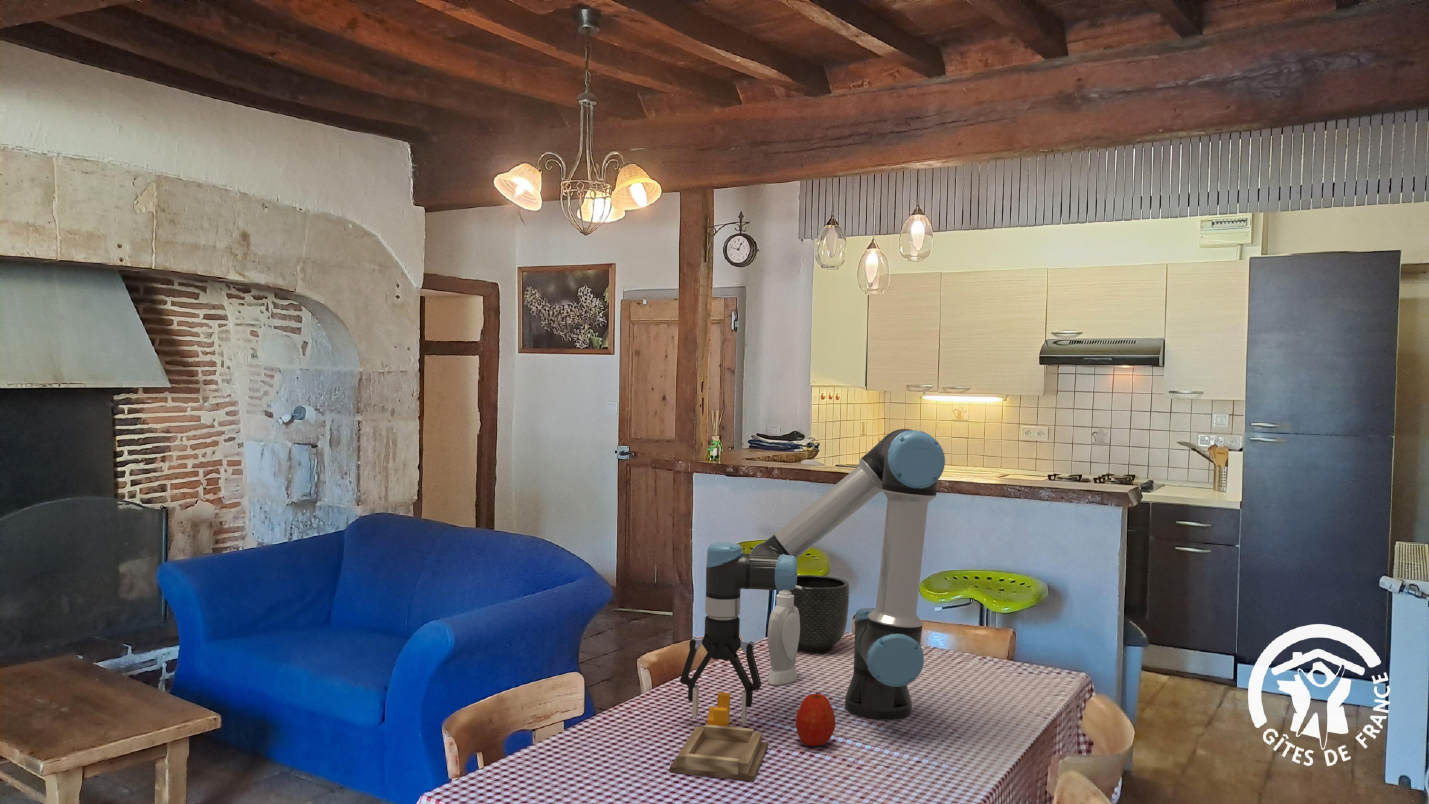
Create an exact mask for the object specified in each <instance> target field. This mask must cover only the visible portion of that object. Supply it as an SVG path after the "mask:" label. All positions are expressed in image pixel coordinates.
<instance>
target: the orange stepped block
mask: <svg viewBox="0 0 1429 804" xmlns="http://www.w3.org/2000/svg"><path fill="white" fill-rule="evenodd" d="M716 701H717V703H716V706H710V707H709V709H708V715H707V719H706V720H707V721H706V724H708V725H718V726H728V727H730V726H729V725H730V718H731V717H730V715H731V714H730V711H731V693H730V692H722V691H721V692H720V691H719V692H718V693H717V699H716Z"/></svg>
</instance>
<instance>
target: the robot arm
mask: <svg viewBox="0 0 1429 804" xmlns="http://www.w3.org/2000/svg"><path fill="white" fill-rule="evenodd" d="M945 457H946V456H945V452H944V449H943V448H942V446H941V444H940V443H939V442H938V440H936V438H935V437H934V436H932V435H930V434H929V433H927V432H925V431H922V430H918V429H915V430H913V429H910V428H901V429H900V428H899V429H896V430H893V431H891V432H890V433H888V434H886V435H885V436H884V437H883V438H882V439H881V440H880V441H879V442H878V443H876V445H874V446H873V447H872V448H871V449H870V450H869V451H868V452H867V453H866V454H864V455H863V456H862V457H861V458H859V463H858V466H856V467H855V468H854V469H853V470H852V471H850V472H849V473H848V474H847V475H846V476H844V477H843V478H842V479H841V480H839V481H838V482H837V483H836V484H835V485H833V486H832V487H830V489H829V490H826V492H824V493H823V494H822V495H821V496H819V498H817V499H816V500H815V501H813V502H812V503H811V504H810V505H808V506H807V507H806V508H805V509H803V510H802V511H801V512H800V513H799V514H798V515H796V516H795V517H794V518H792V519H791V520H790V521H789V522H787V523H786V524H785V525H784V526H783V527H781V528H780V529H779V530H778V531H777V532H775V533H774V534H773V535H772V536H771V537H769V538H768V539H767V540H765V541H764V542H761V543H758V544H756V546H754V547H753V548H752V550H751V552H750V553H744V552H743V549H742V546H741V544H739V543H734V542H733V543H731V542H715V543H712V544H710V545H709V546H708V548H707V552H706V553H707V554H706V565H705V567H706V568H705V601H704V602H705V603H704V604H705V605H704V613H705V617H704V636H703V638H698V637H695V636H694V637H693V636H692V638H691V639H690V640H689V651H688V655H687V658H686V659H685V663H684V667H683V670H682V673H681V676H680V679H679V683H681V684H682V685H683V684H684V685H686V687H687V690H688V691H687V693H688V694H687V701H688V702H689V703H690V702H691V703H692V705H691V706H692V708H691V710H692V711H691V713H692V714H691V719H697V717H698V716H699V702H700V701H699V699H700V698H699V697H700V685H699V684H696V683H697V681H698V680H699V678H700V677H701V675H702V673H703V672H704V671H705V669H706V668H707V666H708V665H709V664H708V663H710V661H711V660H713V661H715V660H722V661H729V663H730V665H732V667H733V669H734V670H735V673H736V675H737V676H738V678H739V680H740V682H741V684H742V686H743V688H744V689H743V691H742V693H741V724H746V723H747V720H748V708H750V707H751V706H753V705H752V704H753V697H754V696H753V695H754V693H753V692H754V691H759V690H760V688H761V687H762V680H761V676H760V673H759V670H758V665H757V662H756V657H755V654H754V648H755V647H754V646H755V643H754V642H753V641H749V642H747V641H742V640H741V637H740V630H741V629H740V628H741V624H740V623H741V619H740V617H739V615H741V590H764V591H766V590H767V591H782V590H793V589H794V588H795V587H796V584H797V575H798V560H797V559H799V557H801V556H802V555H803V554H805V553H806V552H807V551H808V550H809V549H811V548H812V547H813V546H814V545H815V544H817V543H818V542H819V541H820V540H822V539H823V538H824V537H825V536H827V535H828V534H829V533H830V532H832V531H833V530H835V528H837V527H838V526H840V524H842V523H843V522H844V521H845V520H846V519H848V518H849V517H851V515H853V514H854V513H855V512H856V511H858V510H859V509H860V508H862V507H863V506H864V505H866V504H867V503H868V502H869V501H871V500H872V499H873V498H874V497H875V496H877V495H878V494H879V493H881V492H882V493H883V494H884V495H885V497H886V498H887V501H886V509H885V510H886V511H885V520H884V521H885V522H884V529H883V540H882V549H881V550H882V551H881V559H880V567H879V576H878V587H877V594H876V595H877V596H876V597H877V598H876V603H875V604H876V606H875V608H874V607H867V608H866V607H865V608H864V607H863V608H859V609H857V611H856V612H855V616H854V617H855V618H854V620H853V623H854V647H853V648H854V651H853V674H852V678H851V680H850V683H849V684H848V685H849V686H848V688H847V690H846V693H845V697H844V707H845V710H847V712H849V713H851V714H853V715H855V716H858V717H861V718H865V719H870V720H880V721H881V720H883V721H887V720H888V721H889V720H890V721H892V720H894V721H895V720H900V719H904V718H906V717H910V716H911V714H912V713H913V712H912V711H913V702H912V699H911V695H910V691H909V688H908V685H909V684H911V683H912V682H914V681H915V680H916V679H917V678H918V677H919V675H920V674H921V673H922V670H923V669H924V664H925V663H924V662H925V657H924V650H923V648H922V646H921V642H922V633H923V621H922V620H921V619H920V617H919V615H918V614H917V611H918V601H919V592H920V582H921V574H922V573H921V572H922V563H923V554H924V545H925V534H926V525H927V516H928V508H929V507H928V506H929V503H931V502H932V500H934V499H935V498H937V492H938V481H939V479H940V478H941V476H942V474H943V472H944V470H945V465H946V458H945ZM701 646H703V648H704V649H705V651H706V652H707V653H706V654H705V655H704V657H703V659H702V661H701V662H700V664H699V665H698V667H697V669H696V670H695V672H694V674H693V675H692V676H691V677H690V672H691V669H692V667H693V664H694V661H695V657H696V655H697V652H698V649H700V647H701ZM740 648H741V649H742V652H743V653H744V654H745V657H746V661H747V664H748V665H747V666H748V669H749V674H750V677H751V679H752V680H751V679H750V677H749V675H748V674H747V672H746V670H745V667H744V666H743V664H742V662H741V660H740V657H739V655H738V653H737V652H738V651H739V650H740ZM751 681H752V682H751Z"/></svg>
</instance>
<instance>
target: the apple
mask: <svg viewBox="0 0 1429 804" xmlns="http://www.w3.org/2000/svg"><path fill="white" fill-rule="evenodd" d="M835 728H836V716H835V712H834V709H833V707H832V704H831V703H830V701H829V700H828V698H827V697H826V695H824V694H820V693H818V692H817V691H816V692H815V693H810V694H807V696H805V697H804V699H803V700H802V702H801V704H800V706H799V708H798V710H797V712H796V717H795V729H796V733H797V736H798V738H799V740H800V742H801V743H802V744H803V745H805V746H808V747H816V746H822V745H825V744H827V743H829V740H830V739H831V738H832V735H833V734H834V732H835Z"/></svg>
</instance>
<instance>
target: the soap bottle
mask: <svg viewBox="0 0 1429 804" xmlns="http://www.w3.org/2000/svg"><path fill="white" fill-rule="evenodd" d="M795 588H798V589H803V587H800V586H797V585H796V587H795ZM775 597H776V599H775V600H776V601H775V603H776V604H775V606H774V608H773V609H772V610H771V612H770V614H769V619H768V628H767V648H768V653H769V654H768V655H769V659H770V660H769V661H770V667H771V668H770V670H769V674H768V679H767V683H768V685H771V686H782V685H783V686H784V685H789V684H791V683H793V682H795V681H796V680H797V679H798V673H797V667H796V662H797V661H796V660H797V655H798V644H799V637H800V615H799V611H798V608H797V607H795V606H794V596H793V595H791V592H789V590H782V591H780V592H778V594H776V595H775Z"/></svg>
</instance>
